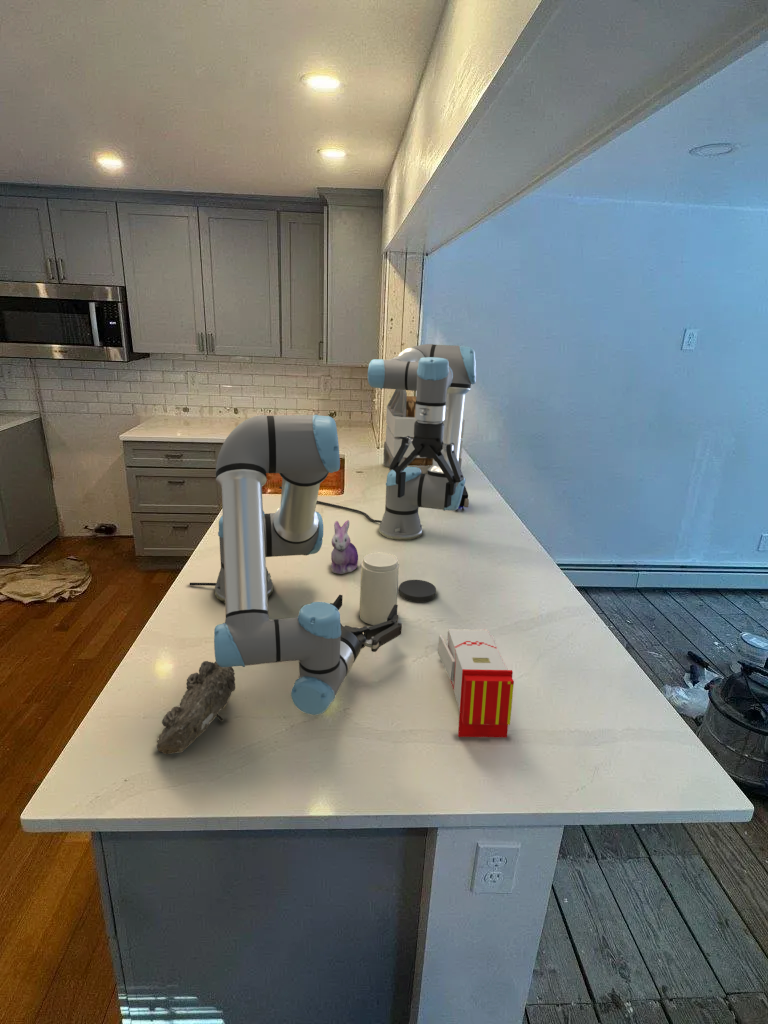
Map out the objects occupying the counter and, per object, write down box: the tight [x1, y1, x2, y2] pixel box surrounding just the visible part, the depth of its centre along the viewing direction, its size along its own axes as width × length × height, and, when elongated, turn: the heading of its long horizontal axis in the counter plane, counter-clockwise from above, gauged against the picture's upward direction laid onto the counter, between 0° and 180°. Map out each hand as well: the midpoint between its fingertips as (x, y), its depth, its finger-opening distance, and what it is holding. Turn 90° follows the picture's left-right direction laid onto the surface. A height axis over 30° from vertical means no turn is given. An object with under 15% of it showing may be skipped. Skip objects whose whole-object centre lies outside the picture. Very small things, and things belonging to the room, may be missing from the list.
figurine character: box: [455, 485, 470, 512], centre depth 229 cm, size 7×8×15 cm
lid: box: [398, 579, 437, 603], centre depth 158 cm, size 10×10×2 cm
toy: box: [437, 628, 515, 738], centre depth 117 cm, size 12×13×30 cm
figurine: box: [330, 519, 359, 575], centre depth 169 cm, size 9×10×15 cm
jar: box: [359, 551, 400, 626], centre depth 143 cm, size 9×9×16 cm
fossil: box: [156, 660, 236, 755], centre depth 106 cm, size 22×10×15 cm
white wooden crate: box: [383, 389, 465, 472], centre depth 268 cm, size 34×33×41 cm
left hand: (368, 604), depth 134 cm, fingers open, 13 cm apart
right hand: (423, 501), depth 150 cm, fingers open, 13 cm apart
